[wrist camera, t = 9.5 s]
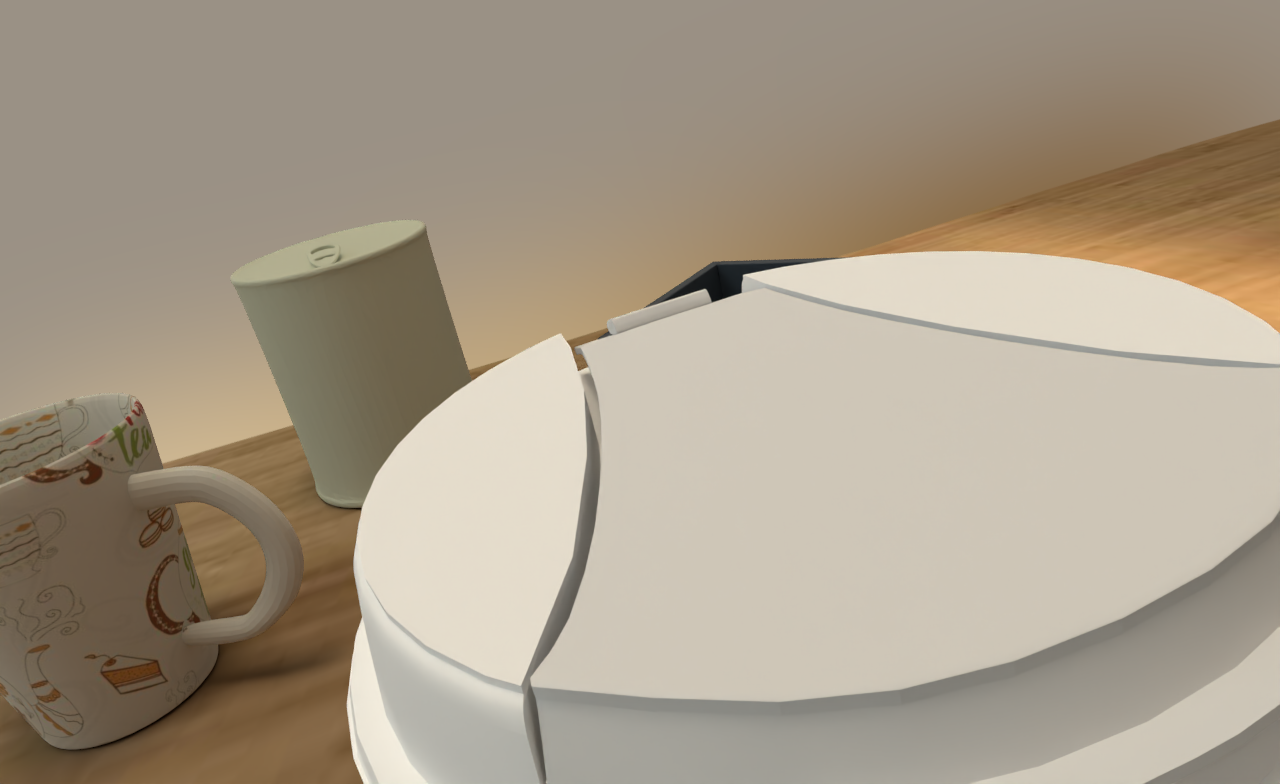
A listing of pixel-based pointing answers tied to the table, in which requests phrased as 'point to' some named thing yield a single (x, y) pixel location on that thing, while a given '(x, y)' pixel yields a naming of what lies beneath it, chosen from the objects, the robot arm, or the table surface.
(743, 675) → the coffee cup
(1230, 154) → the table surface
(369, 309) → the can
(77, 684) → the mug
